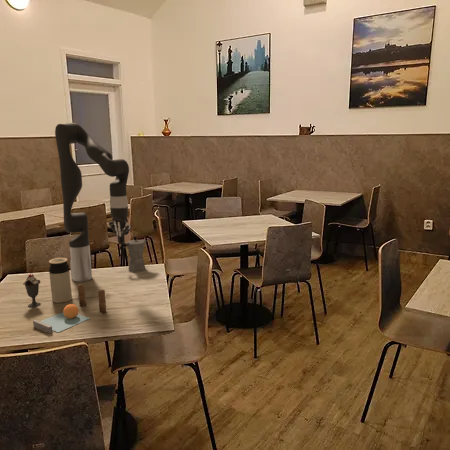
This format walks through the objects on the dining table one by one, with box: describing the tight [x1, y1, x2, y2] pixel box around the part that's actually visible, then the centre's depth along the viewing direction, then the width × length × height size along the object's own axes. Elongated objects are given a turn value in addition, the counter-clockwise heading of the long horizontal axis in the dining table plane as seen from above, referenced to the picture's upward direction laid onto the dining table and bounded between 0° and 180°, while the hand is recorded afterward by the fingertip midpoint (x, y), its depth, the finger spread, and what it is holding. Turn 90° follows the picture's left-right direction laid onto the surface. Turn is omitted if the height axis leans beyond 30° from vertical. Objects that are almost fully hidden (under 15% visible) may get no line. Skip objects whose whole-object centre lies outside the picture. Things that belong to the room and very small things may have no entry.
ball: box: [62, 303, 80, 319], centre depth 164 cm, size 6×6×6 cm
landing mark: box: [39, 311, 91, 334], centre depth 161 cm, size 14×14×1 cm
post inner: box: [77, 283, 87, 307], centre depth 175 cm, size 3×3×9 cm
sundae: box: [22, 269, 42, 308], centre depth 176 cm, size 7×7×15 cm
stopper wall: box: [32, 319, 53, 335], centre depth 154 cm, size 10×1×2 cm, turn 56°
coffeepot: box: [119, 236, 148, 273], centre depth 219 cm, size 15×9×18 cm, turn 129°
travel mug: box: [48, 257, 73, 304], centre depth 181 cm, size 8×8×18 cm
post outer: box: [97, 289, 107, 314], centre depth 168 cm, size 3×3×9 cm
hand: (121, 243), depth 187 cm, fingers closed
